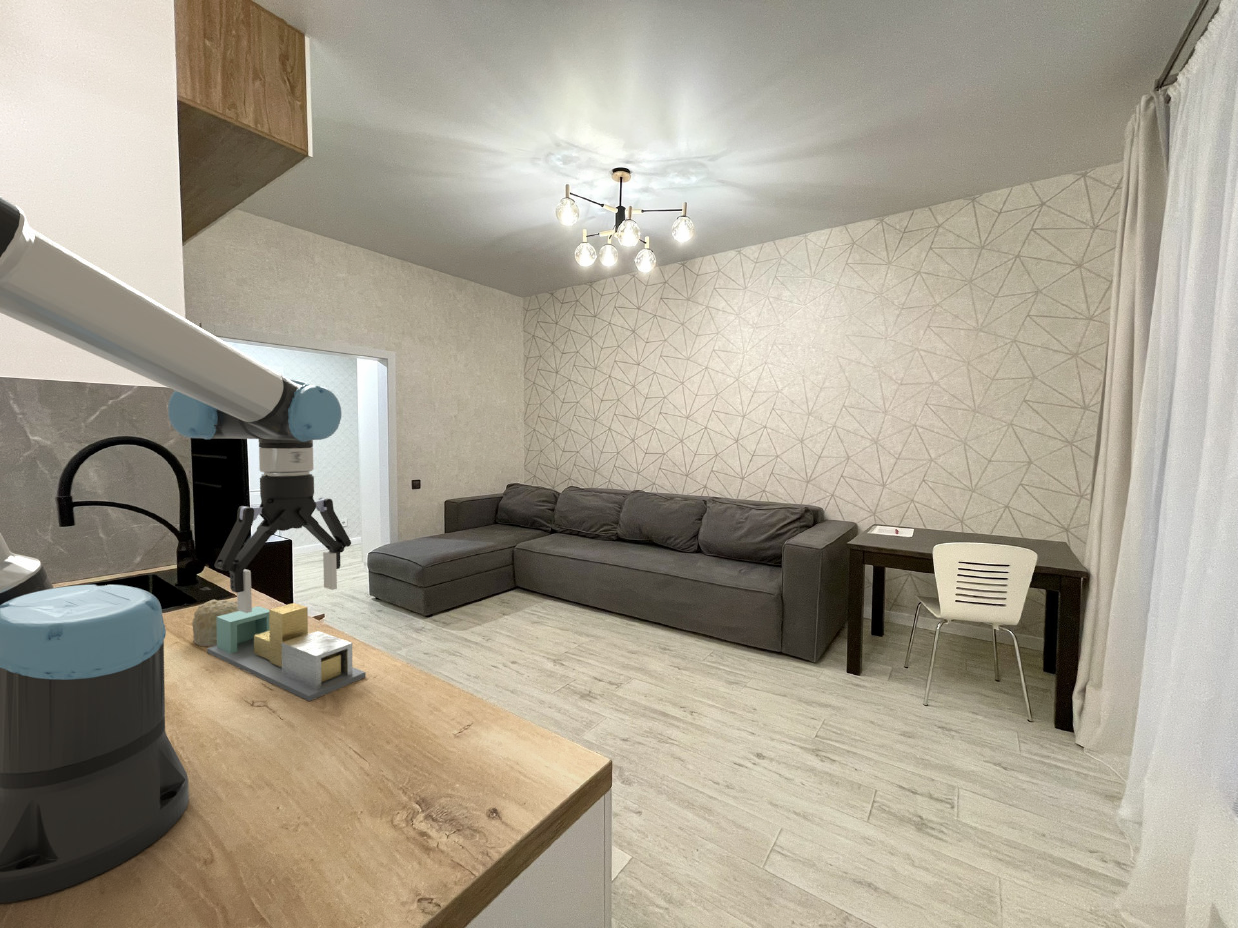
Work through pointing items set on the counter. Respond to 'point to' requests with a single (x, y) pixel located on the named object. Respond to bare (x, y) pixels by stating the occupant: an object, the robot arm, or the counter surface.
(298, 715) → the counter surface
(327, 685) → the slate board
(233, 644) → the socket
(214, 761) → the counter surface
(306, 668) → the grey rectangular sleeve
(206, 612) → the sponge
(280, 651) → the gold stepped block
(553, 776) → the counter surface
